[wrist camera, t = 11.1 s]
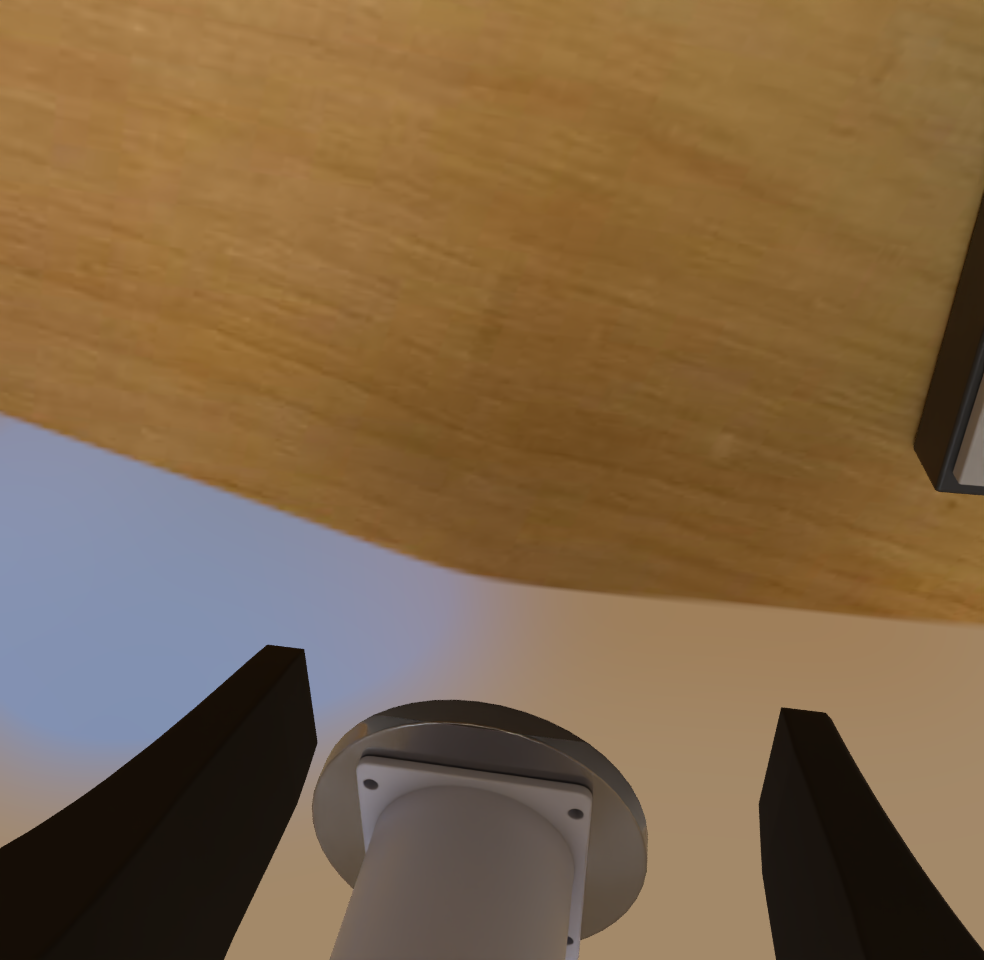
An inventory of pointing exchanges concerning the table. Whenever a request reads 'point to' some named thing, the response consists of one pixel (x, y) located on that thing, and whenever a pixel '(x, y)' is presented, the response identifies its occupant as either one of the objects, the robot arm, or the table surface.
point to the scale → (959, 388)
